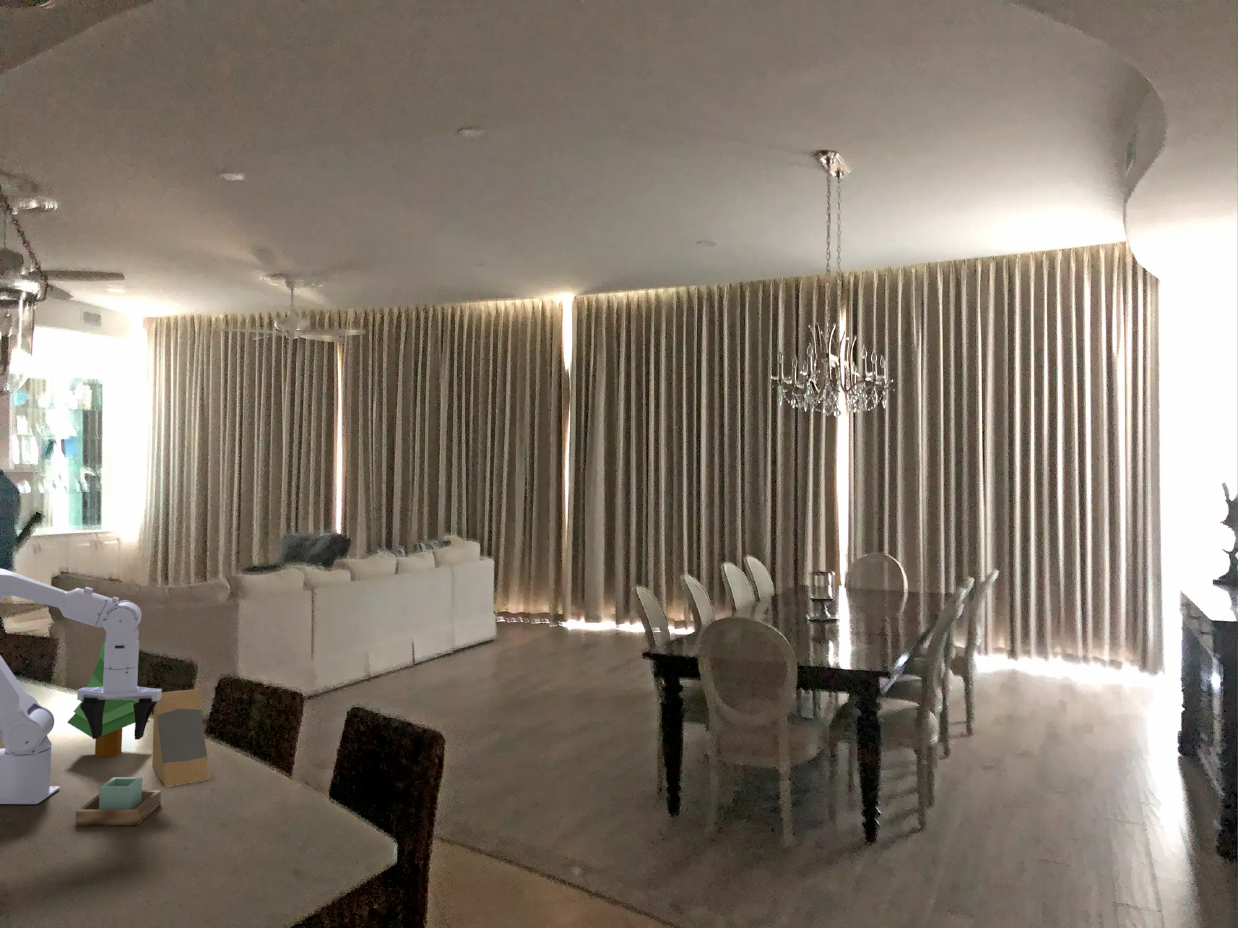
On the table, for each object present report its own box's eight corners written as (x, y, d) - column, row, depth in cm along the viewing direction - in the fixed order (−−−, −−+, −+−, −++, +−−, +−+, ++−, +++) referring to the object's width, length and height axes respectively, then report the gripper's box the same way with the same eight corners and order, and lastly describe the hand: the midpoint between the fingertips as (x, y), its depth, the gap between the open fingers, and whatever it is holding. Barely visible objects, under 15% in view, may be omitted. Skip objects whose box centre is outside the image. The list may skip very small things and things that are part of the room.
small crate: (98, 815, 157) (99, 787, 157) (112, 804, 162) (113, 777, 162) (128, 815, 157) (129, 787, 157) (141, 805, 162) (142, 777, 162)
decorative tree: (107, 768, 181) (113, 620, 182) (51, 757, 187) (57, 613, 187) (162, 749, 194) (168, 611, 194) (109, 739, 200) (114, 605, 200)
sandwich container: (164, 788, 173) (168, 710, 173) (150, 765, 185) (153, 692, 185) (212, 780, 178) (215, 705, 178) (195, 758, 190) (198, 688, 190)
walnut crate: (75, 825, 154) (76, 810, 154) (103, 803, 164) (104, 789, 164) (136, 825, 155) (136, 811, 155) (160, 803, 165) (161, 790, 165)
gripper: (70, 670, 166) (67, 743, 166) (151, 671, 167) (148, 744, 167) (89, 661, 173) (86, 732, 173) (167, 663, 174) (164, 733, 174)
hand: (118, 737), depth 171 cm, fingers open, 7 cm apart
